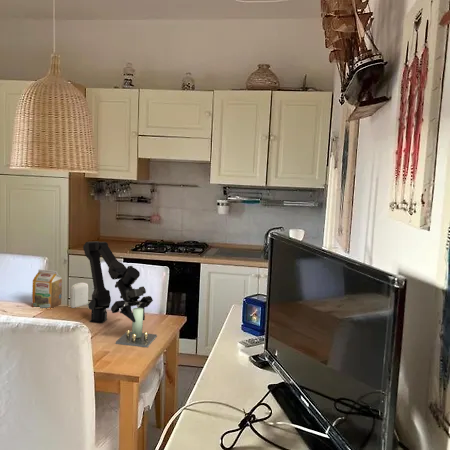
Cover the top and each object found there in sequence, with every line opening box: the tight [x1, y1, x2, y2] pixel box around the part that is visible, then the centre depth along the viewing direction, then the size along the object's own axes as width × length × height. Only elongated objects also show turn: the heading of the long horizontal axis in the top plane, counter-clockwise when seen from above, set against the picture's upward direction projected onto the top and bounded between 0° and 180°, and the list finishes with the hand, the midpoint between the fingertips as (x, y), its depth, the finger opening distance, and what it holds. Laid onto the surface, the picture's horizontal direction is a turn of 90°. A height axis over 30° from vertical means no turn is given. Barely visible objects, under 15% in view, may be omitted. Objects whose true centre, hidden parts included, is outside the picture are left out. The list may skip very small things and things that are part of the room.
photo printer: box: [69, 282, 89, 309], centre depth 254 cm, size 10×4×12 cm, turn 148°
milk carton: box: [31, 269, 63, 310], centre depth 250 cm, size 11×11×19 cm
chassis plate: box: [115, 329, 158, 348], centre depth 208 cm, size 14×14×4 cm
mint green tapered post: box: [131, 307, 144, 338], centre depth 208 cm, size 4×4×12 cm
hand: (139, 321), depth 206 cm, fingers closed on mint green tapered post, 4 cm apart
